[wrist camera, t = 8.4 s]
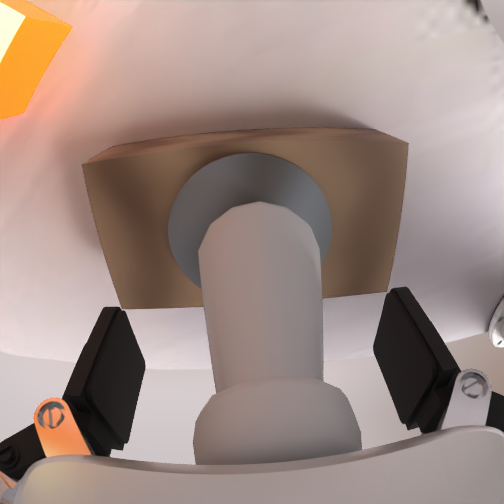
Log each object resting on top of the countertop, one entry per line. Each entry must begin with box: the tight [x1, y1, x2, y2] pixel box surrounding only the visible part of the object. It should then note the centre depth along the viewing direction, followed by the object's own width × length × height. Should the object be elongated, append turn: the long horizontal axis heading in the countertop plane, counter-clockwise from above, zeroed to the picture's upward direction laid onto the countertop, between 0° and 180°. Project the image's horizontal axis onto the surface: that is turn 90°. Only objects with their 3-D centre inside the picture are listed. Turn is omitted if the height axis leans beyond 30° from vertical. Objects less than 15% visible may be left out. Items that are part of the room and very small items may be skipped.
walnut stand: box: [82, 128, 409, 309], centre depth 20 cm, size 18×10×6 cm, turn 93°
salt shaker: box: [193, 201, 362, 465], centre depth 12 cm, size 6×6×13 cm
